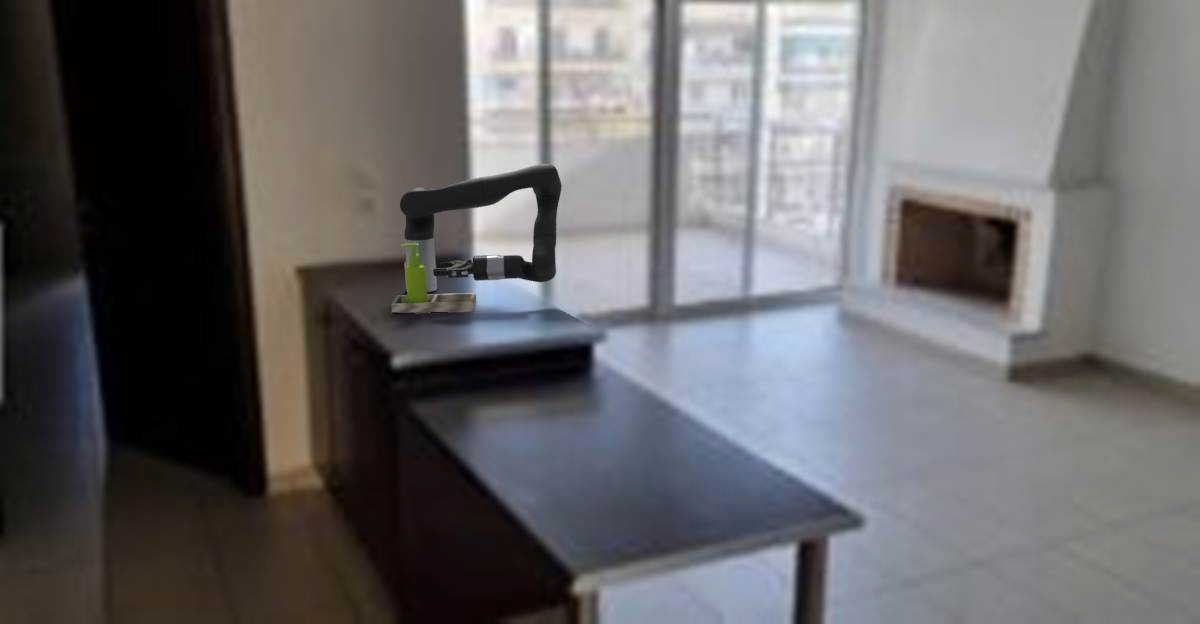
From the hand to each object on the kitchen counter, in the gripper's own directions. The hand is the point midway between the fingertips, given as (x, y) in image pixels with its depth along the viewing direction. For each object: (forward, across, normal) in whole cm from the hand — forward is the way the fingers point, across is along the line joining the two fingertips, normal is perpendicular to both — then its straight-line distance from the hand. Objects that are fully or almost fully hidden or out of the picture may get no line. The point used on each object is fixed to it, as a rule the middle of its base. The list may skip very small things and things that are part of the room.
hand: (435, 269), depth 313 cm
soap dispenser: (+6, 0, +12) cm, 14 cm away
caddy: (+1, 0, +12) cm, 12 cm away
